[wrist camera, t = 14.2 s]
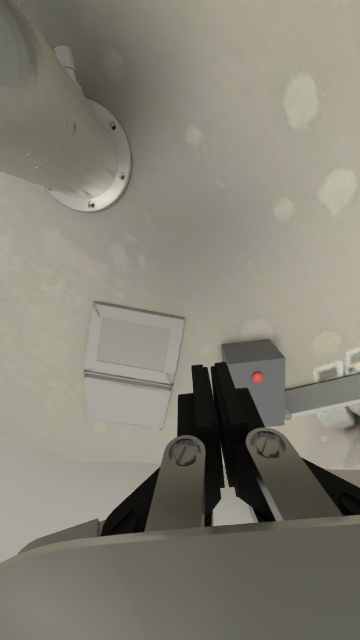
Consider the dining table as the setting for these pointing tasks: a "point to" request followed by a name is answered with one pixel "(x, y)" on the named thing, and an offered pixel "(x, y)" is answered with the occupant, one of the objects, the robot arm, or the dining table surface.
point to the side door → (322, 397)
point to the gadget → (130, 365)
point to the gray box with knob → (259, 376)
